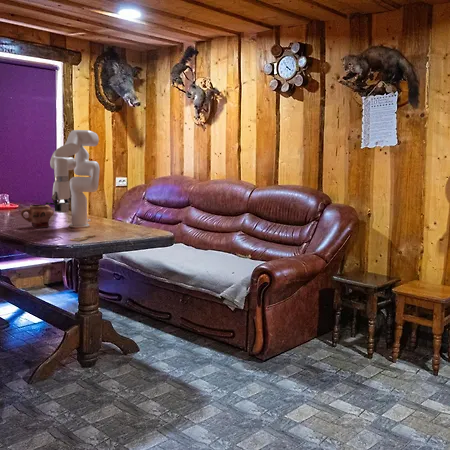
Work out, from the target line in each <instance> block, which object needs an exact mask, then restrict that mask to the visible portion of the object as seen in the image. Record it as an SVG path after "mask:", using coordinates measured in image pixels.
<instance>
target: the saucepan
mask: <svg viewBox="0 0 450 450" xmlns="http://www.w3.org/2000/svg"><path fill="white" fill-rule="evenodd" d="M59 204H60V211H55V210H54V213H58V214H60V213H61V214H64V213H70V203H65V202H59ZM45 205H49V206H50V205H51V206H55V204H54V202H48V201H47V202H45Z"/></svg>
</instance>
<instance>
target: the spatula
mask: <svg viewBox="0 0 450 450" xmlns="http://www.w3.org/2000/svg"><path fill="white" fill-rule="evenodd" d="M94 237H96V234H89V235H86V236H81V237H75V238H71V239H70V240H69V241H72V242H82V241H83V242H84V241H86V240H88V239H90V238H94Z"/></svg>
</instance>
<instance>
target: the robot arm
mask: <svg viewBox="0 0 450 450" xmlns="http://www.w3.org/2000/svg"><path fill="white" fill-rule="evenodd" d="M99 142H100V138H99V135H98V133H97V132H95V131H92V130H88V129H72V130H71V131H70V132H69V133H68V136H67V139H66V141H65V144H63V145H61V146H60V147H58V148H57V149H55V150H54V151H53V152H52V155H51V157H50V160H49V165H50V168H51V169H52V170H53V171H54V172H53V173H54V174H53V175H54V177H53V178H54V182H53V185H52V196H51V200H52V203H54V204H55V205H54V212H55V211H60V204H59V203H61V200H63V201H64V203H69V204H70V207H71V208H70V209H71V224H70V223H69V224H68V227H69V228H77V229H79V228H80V229H82V228H90V226H91V225H90V224H89V223H91V222H92V220H91V218H88V199H87V196H86V195H85V193H95V192H97V191H98V189H99V180H100V172H101V171H100V170H101V169H100V164H99V163H98V161H96V160H89V159H90V154H89V151H88V150H87V149H86V148H85V147H97V146H98V145H99ZM71 156H74V157H71ZM69 171H73V173H74V174H75V175H76V176H73V177H71V178H70V179H69ZM70 202H71V203H70Z"/></svg>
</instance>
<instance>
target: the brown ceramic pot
mask: <svg viewBox="0 0 450 450" xmlns="http://www.w3.org/2000/svg"><path fill="white" fill-rule="evenodd" d="M24 213H27V215H28V217H25V216H24ZM54 214H55V211H53V210H52V207H51V206H50V205H49V204H30V205H29V208H24V209H22V210H21V212H20V216H21V218H22V219H24V220H25V221H26V222H28V223H31V227H32V228H35V229H37V228H39V229H40V228H47V227H49V226H50V223H49V222H50V219H51V218H52V217H53V216H54Z"/></svg>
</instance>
